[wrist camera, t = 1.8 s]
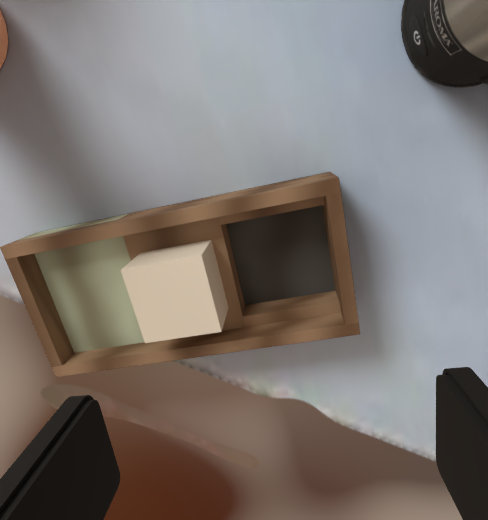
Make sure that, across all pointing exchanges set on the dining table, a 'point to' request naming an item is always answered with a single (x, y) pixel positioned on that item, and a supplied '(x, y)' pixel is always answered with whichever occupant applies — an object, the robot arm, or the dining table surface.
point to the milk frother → (447, 40)
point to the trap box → (230, 267)
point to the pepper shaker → (3, 40)
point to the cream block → (176, 292)
